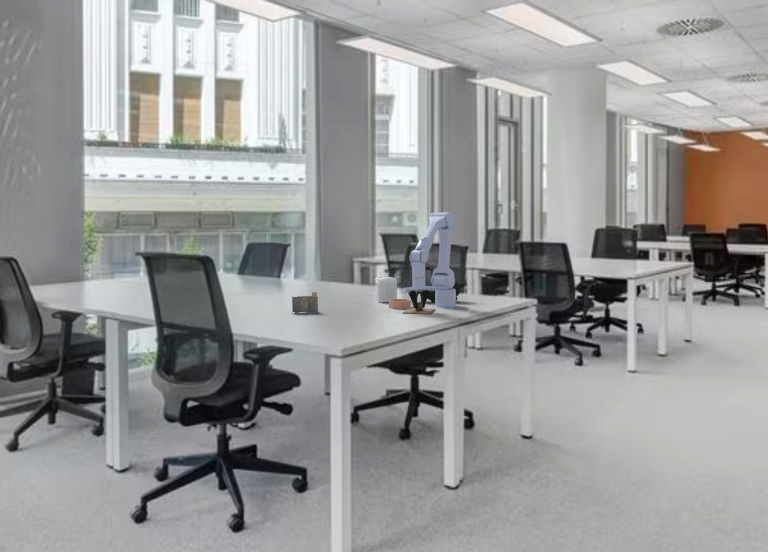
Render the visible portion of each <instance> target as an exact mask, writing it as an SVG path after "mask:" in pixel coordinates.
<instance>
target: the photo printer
mask: <svg viewBox="0 0 768 552" xmlns="http://www.w3.org/2000/svg"><path fill="white" fill-rule="evenodd" d="M391 299H398V280H397V278H395V277H393V276H385V277H382V278H379V279H378V281H377V302H378V303H380V304H381V303H383V304H384V303H389V300H391Z"/></svg>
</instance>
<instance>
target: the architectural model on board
mask: <svg viewBox="0 0 768 552" xmlns="http://www.w3.org/2000/svg"><path fill="white" fill-rule="evenodd" d="M311 294H312V295H302V296H301V295H300V296H298V295H297V296H292V297H291V298H292V299H291V302H292V307H291V308H292V313H293V312H318V313H319V296H318V291H312V292H311Z"/></svg>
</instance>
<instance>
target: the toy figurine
mask: <svg viewBox="0 0 768 552" xmlns="http://www.w3.org/2000/svg"><path fill="white" fill-rule="evenodd" d="M432 269H433V268H431V267H429V266H428V265H425V272H426V271H430V272H433V270H432ZM465 286H467V283H466V282H459V281H457V280H456V279H455V284H454V286H453V287H452V288H451V289H455V290H456V302H457V301H458V296H459V295H460V294H461V291H462V289H463V288H464V287H465ZM420 292H421V291H420ZM420 292H416V293H418V295H420ZM428 292H430V294H429V296H428V298H427V300H429V301H431V303H435V291H428Z"/></svg>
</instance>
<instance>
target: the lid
mask: <svg viewBox="0 0 768 552" xmlns="http://www.w3.org/2000/svg"><path fill="white" fill-rule="evenodd" d="M434 310H436V309H435V308H423V302H421V301H417V309H415V308H412V307H411V308H408V309H404V311H402V313H403V314H402V315H432V314H433V313H432V312H433V311H434ZM431 313H432V314H431Z"/></svg>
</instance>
